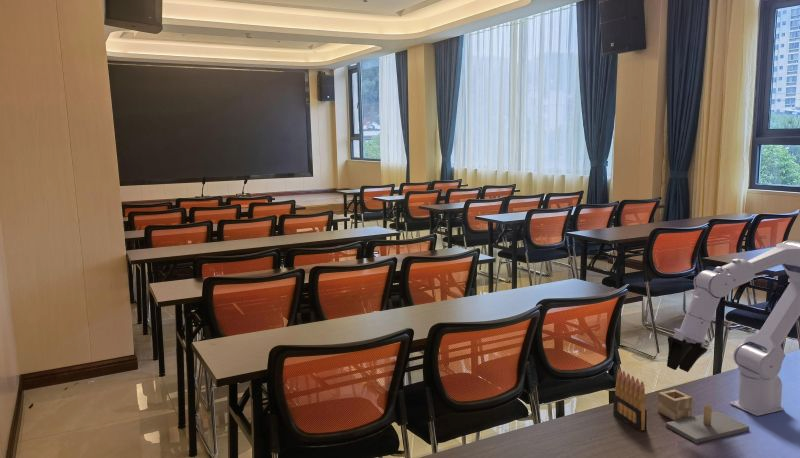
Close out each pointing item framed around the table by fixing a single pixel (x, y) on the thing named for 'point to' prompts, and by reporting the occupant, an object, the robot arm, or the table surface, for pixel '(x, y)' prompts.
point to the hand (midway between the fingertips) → (677, 369)
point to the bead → (674, 404)
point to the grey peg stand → (707, 426)
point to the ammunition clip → (630, 401)
